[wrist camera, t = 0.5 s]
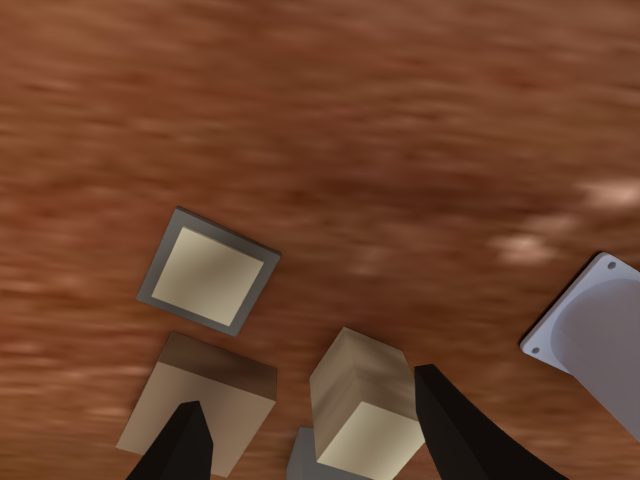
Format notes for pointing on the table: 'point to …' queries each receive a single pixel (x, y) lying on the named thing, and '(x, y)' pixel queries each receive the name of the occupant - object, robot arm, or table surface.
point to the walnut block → (203, 398)
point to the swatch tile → (207, 273)
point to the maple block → (364, 407)
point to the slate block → (312, 462)
